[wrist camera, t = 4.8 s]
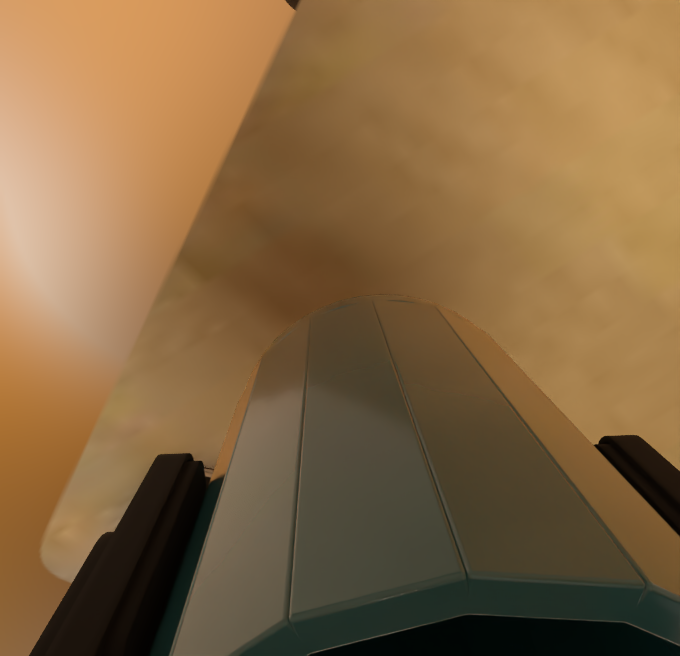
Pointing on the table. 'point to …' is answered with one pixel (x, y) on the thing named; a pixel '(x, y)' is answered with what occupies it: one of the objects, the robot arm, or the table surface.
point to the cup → (415, 508)
